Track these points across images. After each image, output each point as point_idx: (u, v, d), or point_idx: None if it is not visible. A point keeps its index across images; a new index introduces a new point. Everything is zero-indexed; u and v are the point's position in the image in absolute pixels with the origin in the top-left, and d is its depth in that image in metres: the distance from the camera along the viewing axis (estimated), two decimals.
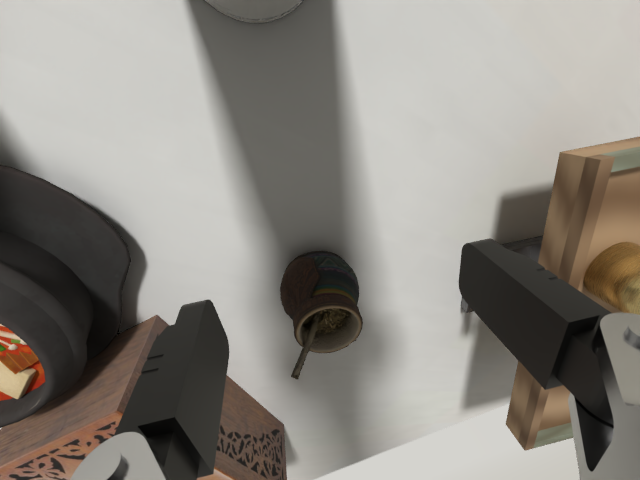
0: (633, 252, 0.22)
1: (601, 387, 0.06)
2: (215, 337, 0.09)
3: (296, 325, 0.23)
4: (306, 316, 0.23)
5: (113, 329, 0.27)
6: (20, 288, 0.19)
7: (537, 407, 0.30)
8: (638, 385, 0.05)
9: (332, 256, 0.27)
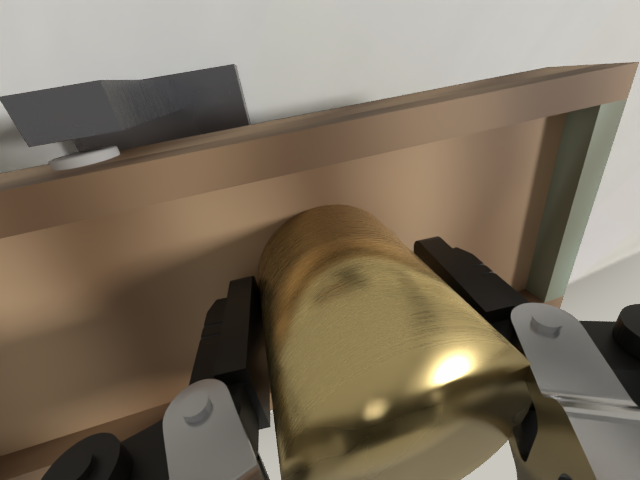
0: None
1: None
2: (259, 310, 0.09)
3: None
4: None
5: None
6: None
7: None
8: (550, 374, 0.05)
9: None
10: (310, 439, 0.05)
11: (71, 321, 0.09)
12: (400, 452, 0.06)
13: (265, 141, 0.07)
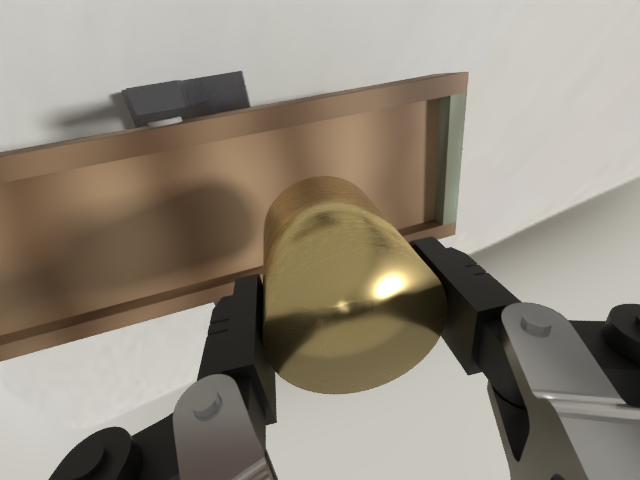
0: None
1: (504, 370, 0.06)
2: None
3: None
4: None
5: None
6: None
7: None
8: (540, 373, 0.05)
9: None
10: (279, 310, 0.07)
11: (151, 216, 0.16)
12: (346, 337, 0.08)
13: (261, 111, 0.14)
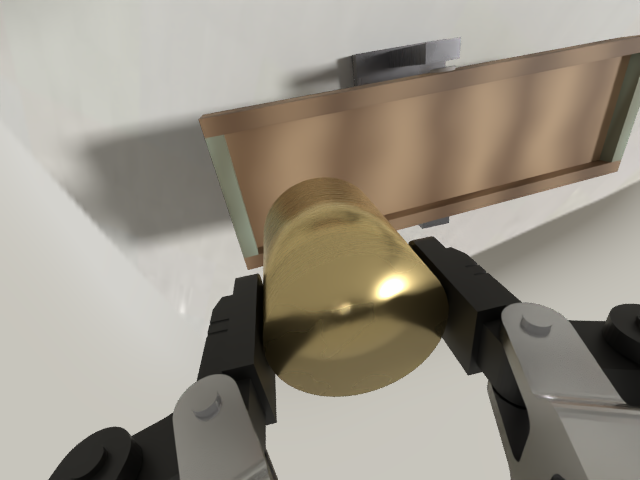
0: None
1: (504, 370, 0.06)
2: None
3: None
4: None
5: None
6: None
7: (328, 98, 0.17)
8: (541, 373, 0.05)
9: None
10: (280, 313, 0.07)
11: (420, 144, 0.21)
12: (347, 340, 0.08)
13: (526, 59, 0.19)
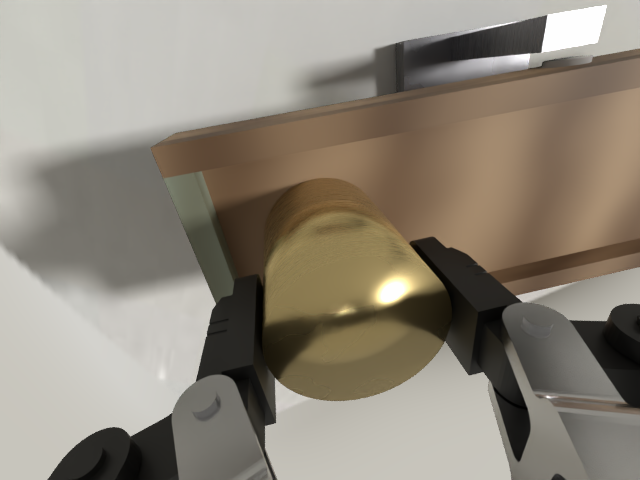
0: None
1: (504, 370, 0.06)
2: None
3: None
4: None
5: None
6: None
7: (375, 112, 0.10)
8: (541, 373, 0.05)
9: None
10: (279, 315, 0.07)
11: (515, 182, 0.13)
12: (348, 343, 0.08)
13: None
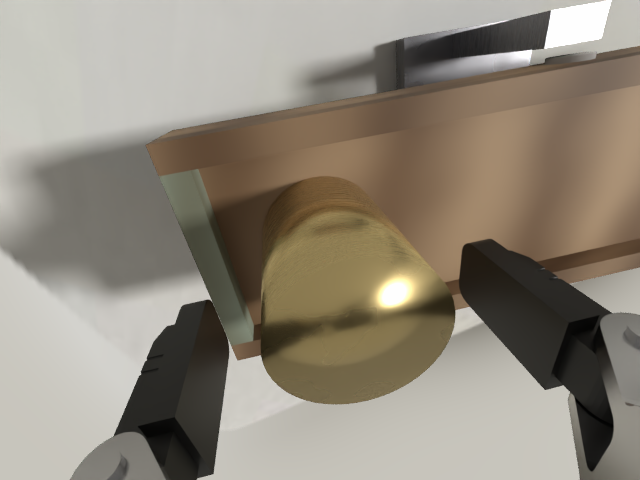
0: None
1: (602, 387, 0.06)
2: (215, 337, 0.09)
3: None
4: None
5: None
6: None
7: (375, 108, 0.10)
8: (638, 385, 0.05)
9: None
10: (278, 318, 0.07)
11: (518, 180, 0.13)
12: (348, 346, 0.08)
13: None
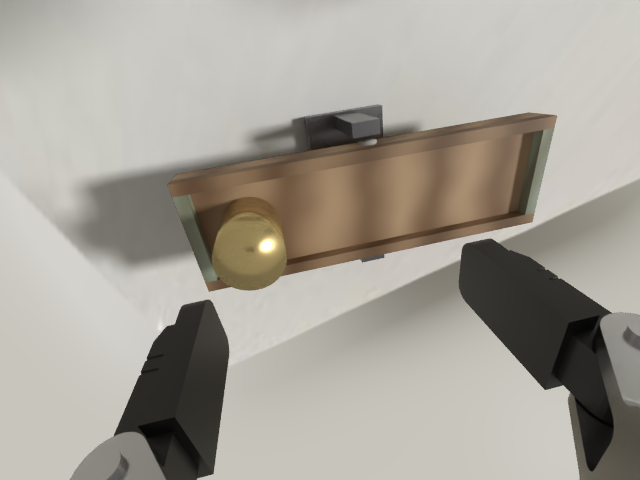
0: (278, 219, 0.25)
1: (602, 387, 0.06)
2: (215, 336, 0.09)
3: None
4: None
5: None
6: None
7: (266, 169, 0.23)
8: (638, 385, 0.05)
9: None
10: (217, 249, 0.20)
11: (349, 199, 0.26)
12: (245, 262, 0.21)
13: (431, 139, 0.24)
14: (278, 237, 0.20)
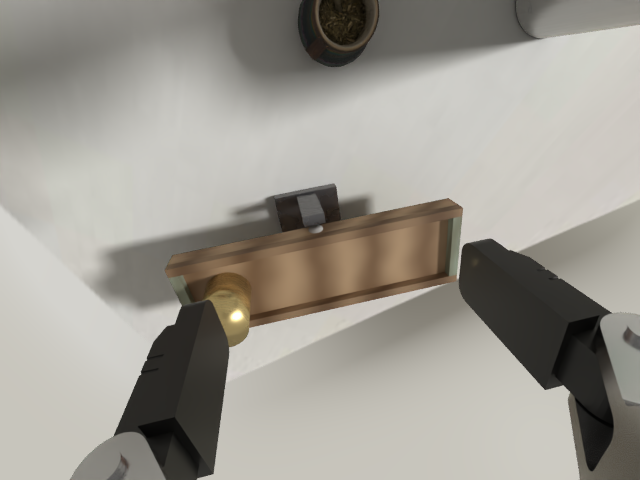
0: (248, 289, 0.33)
1: (601, 387, 0.06)
2: (216, 336, 0.09)
3: None
4: None
5: None
6: None
7: (236, 256, 0.31)
8: (638, 385, 0.05)
9: None
10: None
11: (304, 270, 0.34)
12: None
13: (362, 229, 0.32)
14: (241, 313, 0.29)
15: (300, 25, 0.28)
